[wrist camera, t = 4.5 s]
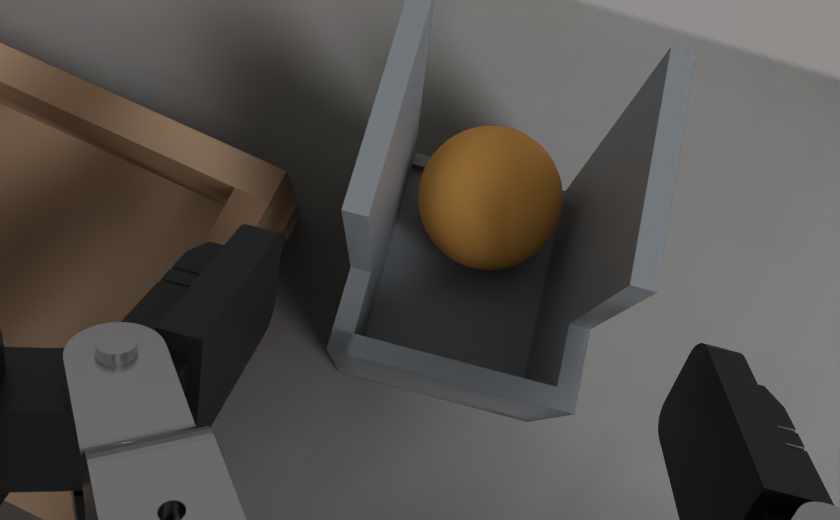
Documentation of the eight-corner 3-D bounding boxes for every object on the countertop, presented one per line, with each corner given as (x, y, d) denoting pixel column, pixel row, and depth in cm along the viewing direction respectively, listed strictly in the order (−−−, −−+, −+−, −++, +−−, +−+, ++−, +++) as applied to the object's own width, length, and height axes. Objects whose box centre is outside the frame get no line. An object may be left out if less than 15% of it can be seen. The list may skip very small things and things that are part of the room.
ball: (541, 267, 21) (584, 142, 20) (529, 309, 17) (581, 159, 16) (421, 227, 22) (455, 104, 21) (385, 260, 18) (423, 112, 17)
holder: (527, 421, 20) (639, 403, 12) (338, 372, 20) (309, 316, 12) (571, 207, 22) (695, 53, 13) (399, 162, 22) (411, -21, 13)
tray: (301, 214, 21) (286, 170, 18) (136, 523, 19) (83, 539, 15) (-30, 64, 22) (-104, -4, 19) (-234, 342, 20) (-362, 320, 16)
